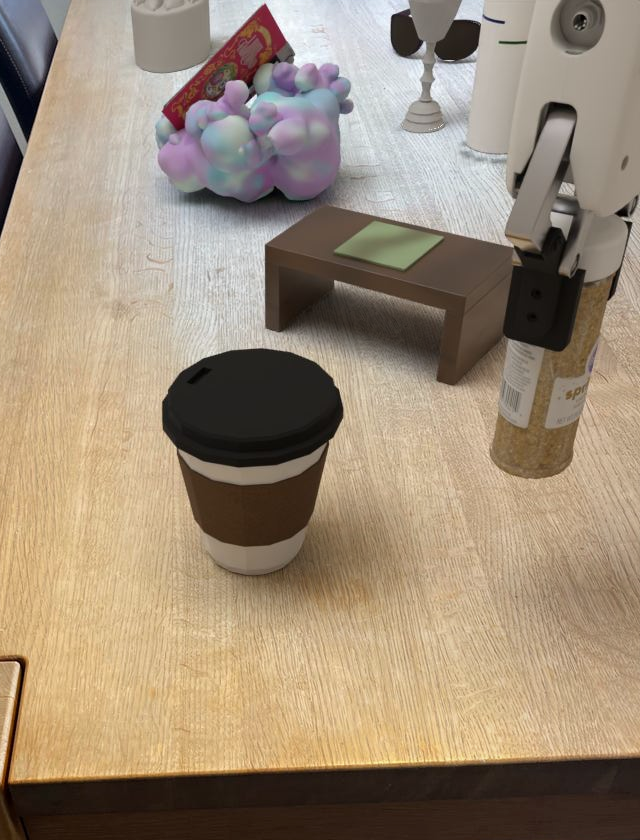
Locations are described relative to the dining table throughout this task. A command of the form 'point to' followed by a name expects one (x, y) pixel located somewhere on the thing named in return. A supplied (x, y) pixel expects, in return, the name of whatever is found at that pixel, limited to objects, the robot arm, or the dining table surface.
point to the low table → (393, 276)
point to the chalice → (429, 60)
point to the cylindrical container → (498, 73)
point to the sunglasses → (452, 47)
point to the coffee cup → (252, 451)
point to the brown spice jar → (556, 368)
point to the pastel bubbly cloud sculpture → (255, 120)
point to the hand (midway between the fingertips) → (559, 314)
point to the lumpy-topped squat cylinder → (170, 34)
